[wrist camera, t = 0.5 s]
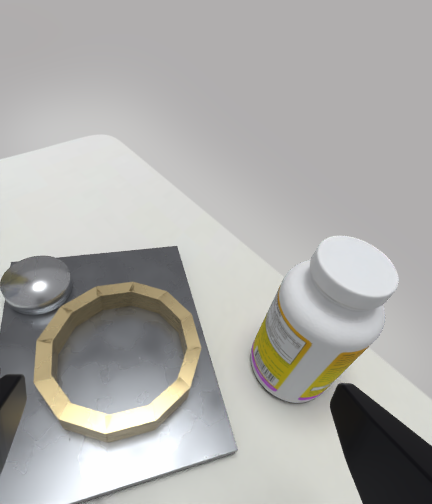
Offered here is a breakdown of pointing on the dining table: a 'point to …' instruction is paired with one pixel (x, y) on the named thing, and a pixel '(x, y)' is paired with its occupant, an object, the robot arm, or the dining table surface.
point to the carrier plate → (106, 376)
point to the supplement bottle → (323, 318)
